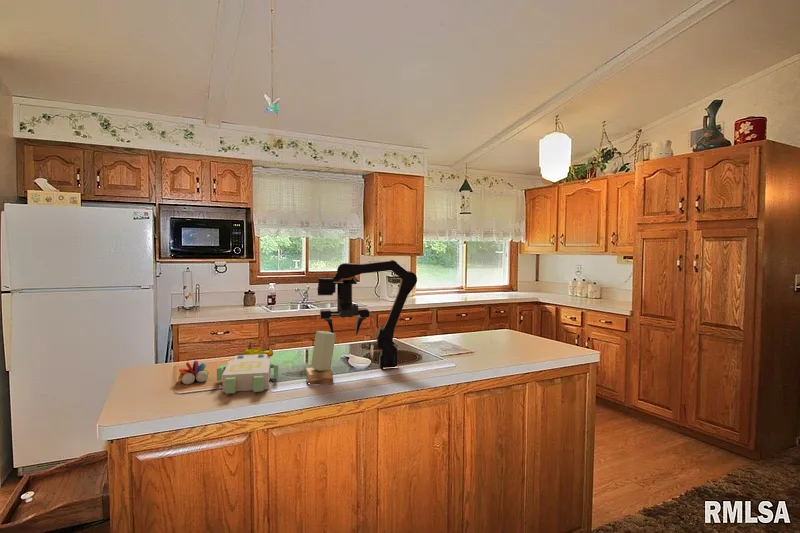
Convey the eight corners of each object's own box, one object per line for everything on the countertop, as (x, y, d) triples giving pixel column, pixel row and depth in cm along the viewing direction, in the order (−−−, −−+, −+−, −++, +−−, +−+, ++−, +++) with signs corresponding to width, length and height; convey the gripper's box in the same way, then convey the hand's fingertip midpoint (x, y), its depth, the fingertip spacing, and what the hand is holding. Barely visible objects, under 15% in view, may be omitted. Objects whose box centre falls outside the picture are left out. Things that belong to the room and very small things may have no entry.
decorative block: (223, 354, 161) (279, 351, 165) (223, 371, 161) (279, 368, 166) (210, 378, 136) (276, 374, 141) (211, 397, 136) (276, 393, 141)
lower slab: (332, 377, 160) (332, 372, 160) (333, 386, 151) (333, 379, 151) (307, 379, 158) (307, 373, 158) (306, 387, 150) (306, 381, 149)
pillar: (322, 366, 159) (327, 331, 159) (330, 369, 155) (335, 333, 155) (310, 367, 155) (316, 331, 155) (319, 370, 152) (324, 333, 152)
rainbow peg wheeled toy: (176, 380, 153) (176, 360, 153) (206, 375, 159) (205, 356, 158) (180, 387, 146) (180, 366, 146) (211, 382, 152) (210, 361, 152)
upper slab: (328, 371, 160) (328, 366, 160) (332, 378, 153) (332, 372, 152) (306, 374, 157) (306, 368, 157) (309, 381, 150) (309, 374, 149)
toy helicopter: (274, 362, 176) (274, 338, 175) (241, 375, 159) (240, 348, 159) (262, 360, 178) (262, 336, 178) (228, 372, 162) (227, 346, 162)
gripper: (321, 298, 158) (321, 341, 159) (372, 297, 162) (371, 338, 163) (319, 294, 169) (320, 334, 170) (367, 293, 173) (367, 332, 174)
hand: (344, 335), depth 169 cm, fingers open, 9 cm apart
